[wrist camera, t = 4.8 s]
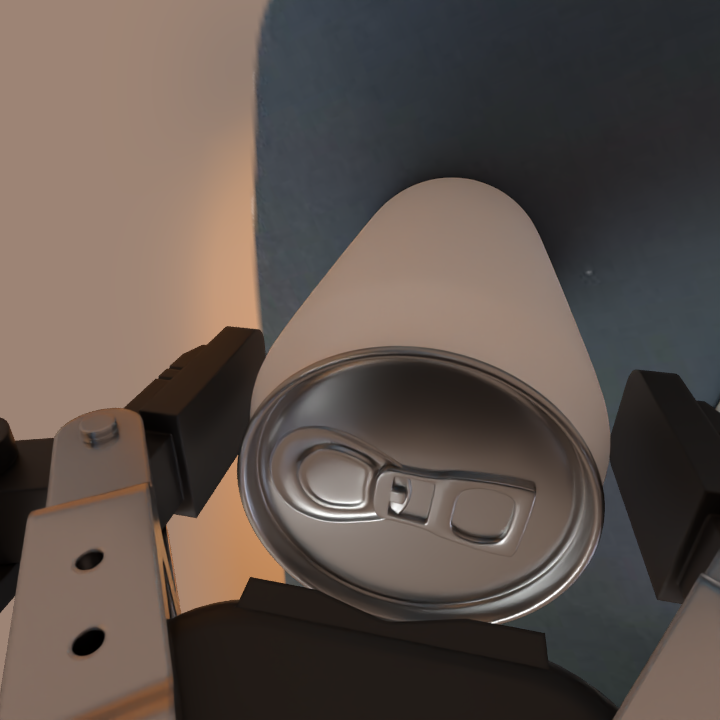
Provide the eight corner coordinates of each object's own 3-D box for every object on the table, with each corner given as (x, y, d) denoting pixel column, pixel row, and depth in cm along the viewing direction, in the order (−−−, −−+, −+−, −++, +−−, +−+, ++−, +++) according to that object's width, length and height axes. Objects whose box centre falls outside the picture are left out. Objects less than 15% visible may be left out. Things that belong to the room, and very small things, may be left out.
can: (369, 161, 17) (202, 279, 7) (568, 189, 16) (726, 372, 6) (350, 334, 20) (216, 596, 10) (516, 365, 19) (560, 685, 9)
